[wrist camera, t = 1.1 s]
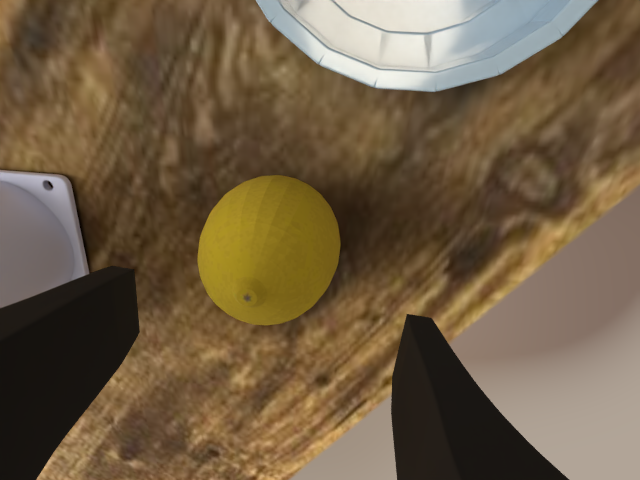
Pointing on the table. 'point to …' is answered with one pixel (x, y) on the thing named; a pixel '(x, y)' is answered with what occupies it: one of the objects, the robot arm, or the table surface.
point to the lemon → (269, 250)
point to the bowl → (422, 37)
